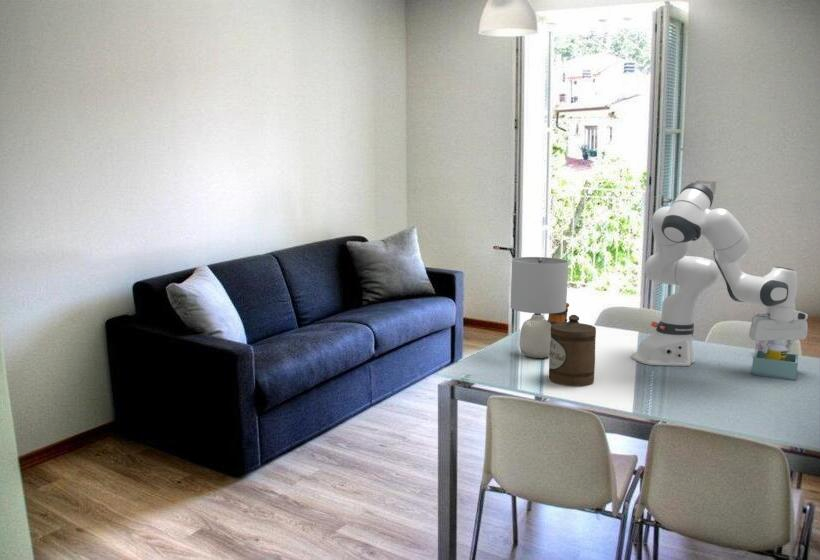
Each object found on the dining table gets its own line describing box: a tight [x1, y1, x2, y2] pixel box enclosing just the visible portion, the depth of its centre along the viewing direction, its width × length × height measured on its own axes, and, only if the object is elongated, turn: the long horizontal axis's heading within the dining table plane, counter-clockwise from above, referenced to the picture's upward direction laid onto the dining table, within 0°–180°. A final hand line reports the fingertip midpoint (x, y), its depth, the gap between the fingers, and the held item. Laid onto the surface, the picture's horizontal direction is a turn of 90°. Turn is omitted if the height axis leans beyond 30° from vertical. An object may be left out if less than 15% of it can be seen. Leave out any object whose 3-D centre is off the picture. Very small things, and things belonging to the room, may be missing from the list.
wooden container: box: [548, 314, 597, 387], centre depth 237 cm, size 15×15×22 cm
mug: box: [547, 302, 570, 325], centre depth 312 cm, size 13×10×12 cm
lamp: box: [509, 256, 569, 359], centre depth 266 cm, size 20×20×37 cm
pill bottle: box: [765, 339, 788, 361], centre depth 249 cm, size 6×6×12 cm
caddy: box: [751, 349, 799, 381], centre depth 250 cm, size 14×14×6 cm
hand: (776, 352), depth 249 cm, fingers closed on pill bottle, 6 cm apart
